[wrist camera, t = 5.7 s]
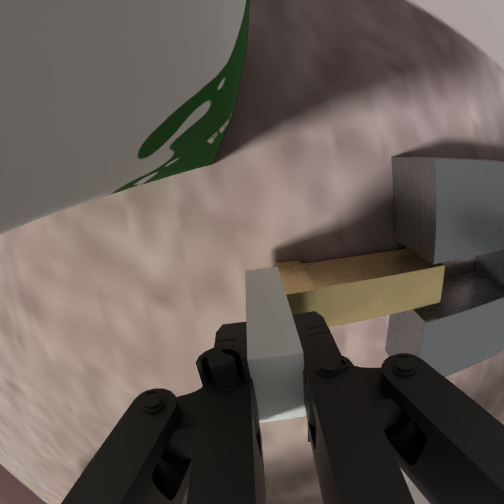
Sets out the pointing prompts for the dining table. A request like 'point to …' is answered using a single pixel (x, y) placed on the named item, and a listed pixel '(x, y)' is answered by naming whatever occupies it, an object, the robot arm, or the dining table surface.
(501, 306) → the socket block
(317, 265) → the bar
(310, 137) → the dining table surface
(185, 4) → the milk carton
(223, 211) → the dining table surface
